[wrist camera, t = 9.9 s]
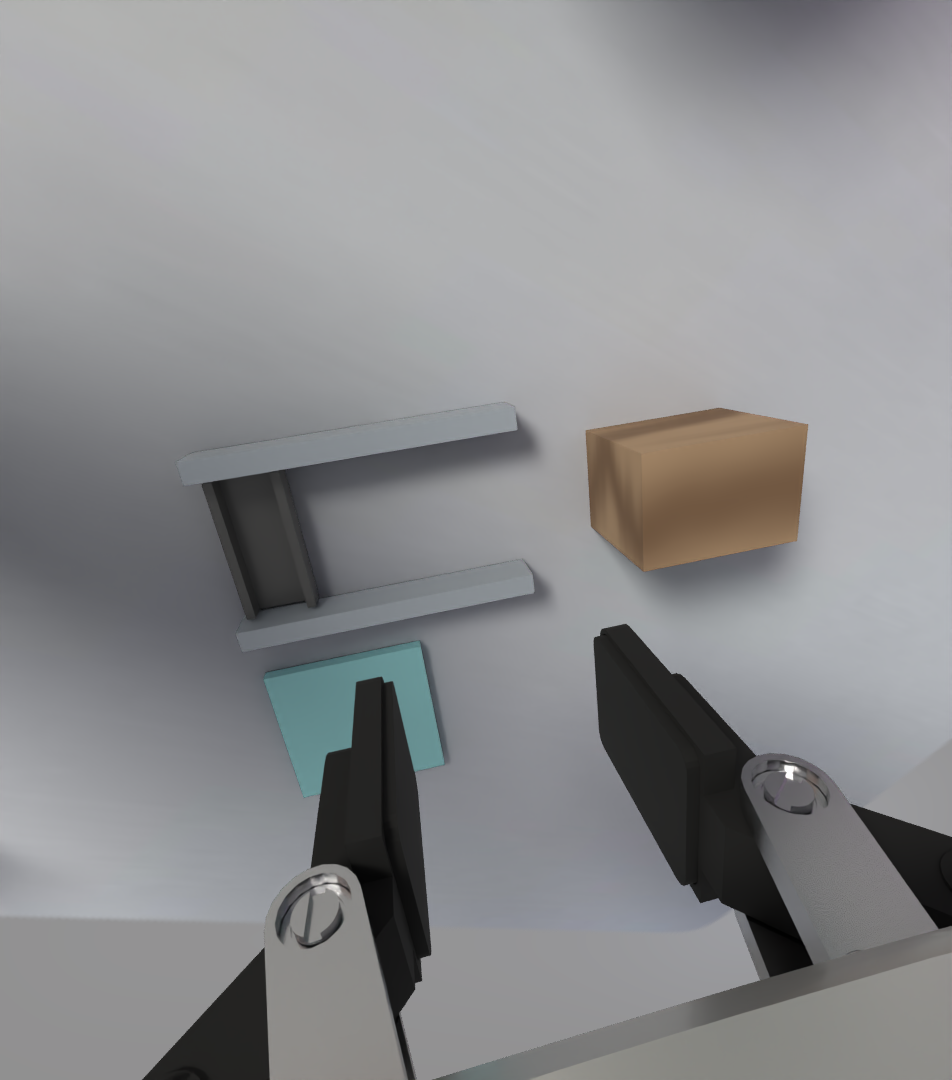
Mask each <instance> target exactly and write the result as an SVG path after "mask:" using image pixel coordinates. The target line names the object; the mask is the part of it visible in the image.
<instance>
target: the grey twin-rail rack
mask: <svg viewBox="0 0 952 1080" xmlns="http://www.w3.org/2000/svg"><path fill="white" fill-rule="evenodd" d="M515 430H517V421H516V412H515V407H514V406H512V405H510V404H508V403H506V402H502V403H495V404H489V405H483V406H477V407H471V408H465V409H458V410H452V411H446V412H440V413H434V414H428V415H422V416H415V417H409V418H403V419H397V420H391V421H385V422H378V423H372V424H366V425H360V426H354V427H348V428H342V429H335V430H329V431H323V432H317V433H311V434H305V435H298V436H292V437H286V438H280V439H274V440H268V441H261V442H255V443H249V444H243V445H237V446H231V447H225V448H218V449H212V450H206V451H200V452H194V453H190V454H189V455H187V456H185V457H184V458H182V459H180V460H178V461H177V462H175V463H176V466H177V469H178V472H179V475H180V478H181V481H182V483H183V486H189V485H195V484H201V483H203V484H202V488H203V491H204V494H205V496H206V499H207V502H208V505H209V508H210V511H211V514H212V517H213V520H214V523H215V526H216V529H217V532H218V535H219V538H220V541H221V544H222V547H223V550H224V553H225V556H226V559H227V562H228V565H229V567H230V570H231V573H232V576H233V579H234V582H235V585H236V588H237V591H238V594H239V597H240V600H241V603H242V606H243V609H244V612H245V616H244V618H243V620H242V622H241V624H240V626H239V628H238V630H237V632H236V637H237V640H238V643H239V646H240V648H241V651H242V652H247V651H252V650H257V649H262V648H267V647H272V646H277V645H282V644H287V643H291V642H296V641H301V640H306V639H311V638H316V637H321V636H326V635H331V634H336V633H340V632H345V631H350V630H355V629H360V628H365V627H370V626H375V625H380V624H385V623H389V622H394V621H399V620H404V619H409V618H414V617H419V616H424V615H429V614H434V613H439V612H443V611H448V610H453V609H458V608H463V607H468V606H473V605H478V604H483V603H488V602H492V601H497V600H502V599H507V598H512V597H517V596H522V595H527V594H532V593H535V590H534V581H533V574H532V573H531V571H530V570H529V568H528V566H527V565H526V563H525V562H524V560H523V559H520V560H515V561H510V562H505V563H500V564H495V565H489V566H484V567H479V568H474V569H469V570H464V571H459V572H454V573H449V574H444V575H438V576H433V577H428V578H423V579H418V580H413V581H408V582H403V583H398V584H393V585H387V586H382V587H377V588H372V589H367V590H362V591H357V592H352V593H347V594H342V595H337V596H331V597H326V598H321V599H318V597H319V593H318V590H317V586H316V583H315V579H314V575H313V572H312V568H311V564H310V561H309V557H308V553H307V550H306V546H305V543H304V539H303V535H302V532H301V528H300V524H299V521H298V517H297V514H296V510H295V506H294V503H293V499H292V495H291V492H290V488H289V484H288V481H287V477H286V474H285V470H284V469H290V468H295V467H301V466H307V465H313V464H319V463H325V462H331V461H337V460H343V459H349V458H355V457H361V456H367V455H372V454H378V453H384V452H390V451H396V450H402V449H408V448H414V447H420V446H426V445H432V444H438V443H444V442H450V441H455V440H461V439H467V438H473V437H479V436H485V435H491V434H497V433H503V432H509V431H515ZM305 600H306V602H301V603H296V604H291V605H286V606H280V607H275V608H270V609H265V610H260V609H264V608H269V607H274V606H279V605H285V604H290V603H295V602H300V601H305ZM259 610H260V611H259Z"/></svg>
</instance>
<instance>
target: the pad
mask: <svg viewBox="0 0 952 1080" xmlns="http://www.w3.org/2000/svg"><path fill="white" fill-rule="evenodd" d="M381 676H382V677H383V680H384V683H385V682H390V681H393V683H394V687H395V691H396V695H397V699H398V704H399V708H400V712H401V717H402V721H403V725H404V729H405V734H406V738H407V742H408V747H409V751H410V755H411V759H412V764H413V768H414V772H415V771H419V770H424V769H428V768H432V767H436V766H440V765H445V763H444V757H443V752H442V747H441V742H440V737H439V732H438V727H437V723H436V718H435V713H434V708H433V703H432V698H431V693H430V688H429V683H428V678H427V673H426V669H425V664H424V659H423V654H422V649H421V644H420V641H415V642H410V643H405V644H401V645H396V646H391V647H386V648H381V649H377V650H372V651H367V652H362V653H357V654H353V655H348V656H343V657H338V658H334V659H329V660H324V661H319V662H314V663H310V664H305V665H300V666H295V667H290V668H286V669H281V670H276V671H271V672H267V673H265V676H264V679H263V680H264V683H265V686H266V689H267V692H268V694H269V697H270V700H271V703H272V706H273V709H274V712H275V715H276V718H277V721H278V724H279V727H280V730H281V733H282V735H283V738H284V741H285V744H286V747H287V750H288V753H289V756H290V759H291V762H292V765H293V768H294V771H295V774H296V776H297V779H298V782H299V785H300V788H301V791H302V794H303V797H304V798H305V797H309V796H313V795H317V794H321V787H322V779H323V772H324V764H325V759H326V755H327V754H328V753H329V752H334V751H338V750H342V749H347V748H351V745H352V730H353V716H354V702H355V688H356V682H357V681H362V680H367V679H371V678H376V677H381Z"/></svg>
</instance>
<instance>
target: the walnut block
mask: <svg viewBox="0 0 952 1080" xmlns="http://www.w3.org/2000/svg"><path fill="white" fill-rule="evenodd" d="M807 431H808V424H803V423H798V422H792V421H787V420H782V419H776V418H771V417H766V416H760V415H755V414H750V413H744V412H739V411H733V410H728V409H723V408H716V409H710V410H704V411H698V412H692V413H686V414H680V415H674V416H668V417H663V418H657V419H651V420H645V421H639V422H633V423H627V424H621V425H615V426H609V427H603V428H597V429H591V430H586V446H587V463H588V481H589V498H590V516H591V527H592V528H593V529H595V530H596V531H597V532H598V533H599V534H600V535H602V536H603V537H604V538H605V539H606V540H607V541H609V542H610V543H611V544H612V545H613V546H614V547H615V548H617V549H618V550H619V551H620V552H621V553H622V554H624V555H625V556H626V557H627V558H628V559H629V560H631V561H632V562H633V563H634V564H635V565H636V566H638V567H639V568H640V569H641V570H642V571H643V572H645V571H650V570H655V569H660V568H665V567H670V566H675V565H680V564H685V563H690V562H695V561H700V560H704V559H709V558H714V557H719V556H724V555H729V554H734V553H739V552H744V551H749V550H754V549H759V548H764V547H769V546H774V545H779V544H784V543H789V542H794V541H797V535H798V525H799V514H800V504H801V494H802V483H803V473H804V462H805V452H806V441H807Z"/></svg>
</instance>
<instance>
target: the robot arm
mask: <svg viewBox="0 0 952 1080" xmlns="http://www.w3.org/2000/svg"><path fill="white" fill-rule="evenodd" d="M594 656H595V672H596V688H597V704H598V720H599V733H600V738H601V741H602V744H603V746H604V748H605V750H606V752H607V754H608V756H609V757H610V759H611V761H612V763H613V765H614V766H615V768H616V770H617V772H618V774H619V775H620V777H621V779H622V781H623V783H624V784H625V786H626V788H627V790H628V792H629V793H630V795H631V797H632V799H633V801H634V802H635V804H636V806H637V808H638V810H639V812H640V813H641V815H642V817H643V819H644V821H645V822H646V824H647V826H648V828H649V830H650V831H651V833H652V835H653V837H654V839H655V840H656V842H657V844H658V846H659V848H660V849H661V851H662V853H663V855H664V857H665V858H666V860H667V862H668V864H669V866H670V867H671V869H672V871H673V873H674V875H675V876H676V878H677V880H678V881H679V883H680V884H681V885H683V886H684V885H688V884H690V886H691V888H692V889H693V891H694V893H695V895H696V896H697V898H698V900H699V902H700V903H702V902H706V901H710V900H713V899H717V898H719V900H720V901H721V903H723V904H725V905H727V906H729V907H731V908H733V909H734V911H735V915H736V918H737V920H738V923H739V926H740V928H741V931H742V934H743V937H744V939H745V942H746V944H747V947H748V950H749V952H750V955H751V958H752V960H753V962H754V965H755V968H756V970H757V973H758V976H759V979H760V981H757V982H754V983H750V984H747V985H743V986H740V987H736V988H733V989H730V990H727V991H723V992H720V993H716V994H713V995H710V996H707V997H703V998H700V999H696V1000H693V1001H690V1002H686V1003H683V1004H680V1005H677V1006H673V1007H670V1008H666V1009H663V1010H660V1011H656V1012H653V1013H650V1014H646V1015H643V1016H640V1017H636V1018H633V1019H630V1020H627V1021H623V1022H620V1023H617V1024H613V1025H610V1026H607V1027H603V1028H600V1029H597V1030H593V1031H590V1032H587V1033H583V1034H580V1035H577V1036H574V1037H570V1038H567V1039H564V1040H560V1041H557V1042H554V1043H550V1044H547V1045H544V1046H541V1047H537V1048H534V1049H531V1050H528V1051H525V1052H521V1053H518V1054H515V1055H512V1056H508V1057H505V1058H502V1059H499V1060H496V1061H492V1062H489V1063H485V1064H482V1065H479V1066H476V1067H473V1068H469V1069H466V1070H463V1071H460V1072H456V1073H453V1074H450V1075H446V1076H443V1077H440V1078H437V1079H433V1080H952V837H950V836H947V835H944V834H941V833H938V832H935V831H932V830H929V829H926V828H923V827H920V826H916V825H914V824H910V823H907V822H904V821H901V820H898V819H895V818H892V817H889V816H886V815H883V814H880V813H877V812H874V811H871V810H868V809H865V808H862V807H858V806H855V805H852V804H850V803H849V802H848V801H847V799H846V798H845V796H844V795H843V793H842V792H841V791H840V789H839V788H838V786H837V785H836V784H835V782H834V781H833V780H832V779H831V778H830V777H829V776H828V775H827V774H826V773H825V772H824V771H822V770H821V769H819V768H818V767H816V766H815V765H813V764H812V763H809V762H807V761H805V760H803V759H800V758H798V757H794V756H790V755H786V754H774V753H769V754H763V755H758V756H756V755H755V754H754V753H753V752H752V751H751V750H750V749H749V747H748V746H747V745H746V744H745V743H744V742H743V741H742V740H741V739H740V738H739V736H738V735H737V734H736V733H735V732H734V731H733V730H732V729H731V728H730V727H729V726H728V724H727V723H726V722H725V721H724V720H723V719H722V718H721V717H720V716H719V715H718V713H717V712H716V711H715V710H714V709H713V708H712V707H711V706H710V705H709V704H708V703H707V701H706V700H705V699H704V698H703V697H702V696H701V695H700V694H699V693H698V692H697V690H696V689H695V688H694V687H693V686H692V685H691V684H690V683H689V682H688V681H687V680H686V679H685V678H684V677H683V676H682V675H681V674H677V673H676V674H671V673H670V672H669V671H668V670H667V668H666V667H665V666H664V665H663V664H662V663H661V662H660V661H659V659H658V658H657V657H656V656H655V655H654V654H653V653H652V651H651V650H650V649H649V648H648V647H647V646H646V645H645V644H644V642H643V641H642V640H641V639H640V638H639V637H638V636H637V634H636V633H635V632H634V631H633V630H632V629H631V628H630V627H629V626H628V625H627V624H623V625H618V626H613V627H609V628H604V629H602V630H601V633H600V636H598V637H595V638H594ZM264 944H265V947H264V948H263V949H262V951H261V952H260V953H259V954H258V955H257V956H256V957H255V958H254V959H253V960H252V961H251V963H250V964H249V965H248V966H247V967H246V968H245V969H244V970H243V971H242V972H241V973H240V974H239V975H238V977H237V978H236V979H235V980H234V981H233V982H232V983H231V984H230V985H229V987H228V988H226V990H225V991H224V992H223V993H222V994H221V995H220V996H219V997H218V998H217V999H216V1000H215V1001H214V1003H213V1004H212V1005H211V1006H210V1007H209V1008H208V1009H207V1010H206V1011H205V1012H204V1013H203V1014H202V1016H201V1017H200V1018H199V1019H198V1020H197V1021H196V1022H195V1023H194V1024H193V1025H192V1027H190V1029H189V1030H188V1031H187V1032H186V1033H185V1034H184V1035H183V1036H182V1037H181V1038H180V1039H179V1040H178V1042H177V1043H176V1044H175V1045H174V1046H173V1047H172V1048H171V1049H170V1050H169V1051H168V1052H167V1053H166V1055H165V1056H164V1057H163V1058H162V1059H161V1060H160V1061H159V1062H158V1063H157V1064H156V1065H155V1067H154V1068H153V1069H152V1070H151V1071H150V1072H149V1073H148V1074H147V1075H146V1076H145V1077H144V1079H142V1080H417V1078H416V1074H415V1070H414V1066H413V1062H412V1058H411V1053H410V1050H409V1045H408V1041H407V1038H406V1033H405V1029H404V1025H403V1021H402V1017H401V1013H400V1011H401V1010H402V1008H403V1007H404V1005H405V1004H406V1002H407V1001H408V999H409V998H410V996H411V995H412V993H413V992H414V990H415V983H417V982H420V981H422V974H421V960H420V959H421V958H423V957H426V956H430V955H431V941H430V929H429V917H428V906H427V894H426V882H425V870H424V859H423V847H422V835H421V823H420V812H419V800H418V789H417V783H416V777H415V772H414V768H413V764H412V759H411V755H410V751H409V747H408V742H407V738H406V734H405V729H404V725H403V721H402V717H401V712H400V708H399V704H398V699H397V695H396V691H395V687H394V683H393V681H390V682H385V683H384V680H383V677H382V676H381V677H376V678H371V679H367V680H362V681H357V682H356V688H355V702H354V716H353V730H352V745H351V748H347V749H342V750H338V751H334V752H329V753H328V754H327V755H326V759H325V764H324V772H323V779H322V787H321V794H320V802H319V810H318V817H317V825H316V832H315V840H314V848H313V855H312V863H311V868H310V869H308V870H306V871H304V872H303V873H301V874H299V875H298V876H296V877H294V878H293V879H292V880H291V881H290V882H289V883H288V884H287V885H286V886H285V887H283V888H282V890H281V891H280V892H279V894H278V895H277V897H276V898H275V899H274V901H273V902H272V904H271V907H270V909H269V911H268V914H267V916H266V921H265V929H264Z"/></svg>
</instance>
